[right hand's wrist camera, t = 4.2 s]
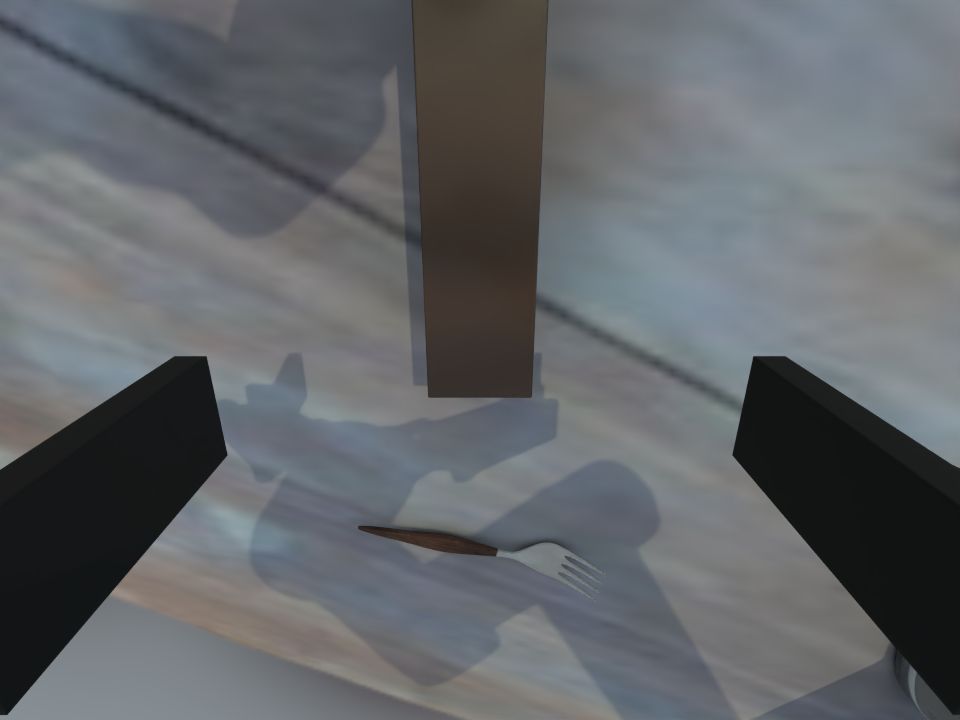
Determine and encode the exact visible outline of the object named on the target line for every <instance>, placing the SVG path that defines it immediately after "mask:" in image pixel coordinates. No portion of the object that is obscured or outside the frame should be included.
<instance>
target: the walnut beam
mask: <svg viewBox="0 0 960 720" xmlns="http://www.w3.org/2000/svg"><path fill="white" fill-rule="evenodd" d="M412 19H413V43H414V68H415V92H416V116H417V140H418V164H419V188H420V212H421V236H422V260H423V284H424V308H425V332H426V356H427V380H428V397H429V398H531V397H532V379H533V355H534V331H535V307H536V283H537V259H538V235H539V211H540V187H541V163H542V139H543V115H544V91H545V67H546V43H547V19H548V0H412Z"/></svg>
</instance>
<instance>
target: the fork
mask: <svg viewBox="0 0 960 720" xmlns="http://www.w3.org/2000/svg"><path fill="white" fill-rule="evenodd" d="M358 529H360V530H362V531H365V532H368V533H372V534H375V535H379V536H383V537H387V538H391V539H395V540H399V541H403V542H406V543H410V544H414V545H418V546H421V547H425V548H429V549H433V550H437V551H442V552H449V553H458V554H470V555H484V556H497V557H506V558H511V559H515V560H517V561H519V562H521V563H523V564H525V565H526V566H528V567H530V568H532V569H534V570H536V571H538V572H540V573H542V574H545V575H547V576H550V577H552V578H555V579H557V580H559V581H561V582H563V583H565V584H567V585H568V586H570V587H572V588H574V589H576V590H577V591H579V592H581V593H582V594H584V595H586V596H587V597H589V598H591V599H592V600H594V601H596V599H595V598H594V597H592V596H591V595H589V594H588V593H586V592H585V591H584V590H582V589H581V588H579V587H578V586H576V585H575V584H573V583H572V582H570V581H568V580H567V579H565V578H564V577H562V576H561V575H560V574H559V572H561V573H564V574H566V575H568V576H570V577H572V578H573V579H575V580H577V581H579V582H581V583H582V584H584V585H586V586H588V587H589V588H591V589H593V590H594V591H596V592H597V593H600V591H598V590H597V589H596V588H594V587H593V586H591V585H590V584H588V583H587V582H585V581H584V580H582V579H581V578H579V577H578V576H576V575H575V574H573V573H572V572H570V571H568V570H567V569H565V568H564V567H563V566H562V564H565V565H567V566H569V567H571V568H573V569H575V570H577V571H579V572H580V573H582V574H584V575H586V576H588V577H589V578H591V579H593V580H595V581H596V582H598V583H600V584H601V585H603V583H602V582H601V581H599V580H598V579H596V578H595V577H593V576H592V575H591V574H589V573H587V572H586V571H584V570H583V569H581V568H580V567H578V566H577V565H575V564H573V563H572V562H570V561H569V560H567V559H566V558H565V556H568V557H571V558H573V559H575V560H577V561H579V562H581V563H582V564H584V565H586V566H588V567H590V568H592V569H593V570H595V571H597V572H599V573H600V574H602V575H604V576H605V577H606V576H607V575H606V574H605V573H603V572H602V571H600V570H599V569H597V568H596V567H594V566H593V565H591V564H590V563H588V562H587V561H585V560H584V559H582V558H580V557H579V556H577V555H575V554H574V553H572V552H570V551H568V550H567V549H565V548H563V547H561V546H559V545H557V544H554V543H548V542H545V543H539V544H535V545H533V546H530V547H528V548H525V549H523V550H520V551H515V552H510V551H504V550H500V549H497V548H494V547H490V546H487V545H484V544H480V543H477V542H474V541H470V540H467V539H463V538H460V537H456V536H452V535H447V534H440V533H430V532H419V531H408V530H399V529H392V528H383V527H374V526H358Z"/></svg>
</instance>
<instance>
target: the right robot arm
mask: <svg viewBox="0 0 960 720" xmlns="http://www.w3.org/2000/svg"><path fill="white" fill-rule="evenodd" d="M226 456H227V450H226V446H225V441H224V436H223V431H222V427H221V422H220V417H219V413H218V408H217V403H216V399H215V394H214V389H213V384H212V380H211V375H210V370H209V366H208V361H207V356H174V357H173V358H171V359H170V360H168V361H167V362H165V363H164V364H162V365H161V366H159V367H157V368H156V369H154V370H153V371H151V372H150V373H148V374H147V375H145V376H144V377H142V378H141V379H139V380H138V381H136V382H134V383H133V384H131V385H130V386H128V387H127V388H125V389H124V390H122V391H121V392H119V393H118V394H116V395H114V396H113V397H111V398H110V399H108V400H107V401H105V402H104V403H102V404H101V405H99V406H98V407H96V408H94V409H93V410H91V411H90V412H88V413H87V414H85V415H84V416H82V417H81V418H79V419H78V420H76V421H74V422H73V423H71V424H70V425H68V426H67V427H65V428H64V429H62V430H61V431H59V432H58V433H56V434H55V435H53V436H51V437H50V438H48V439H47V440H45V441H44V442H42V443H41V444H39V445H38V446H36V447H35V448H33V449H31V450H30V451H28V452H27V453H25V454H24V455H22V456H21V457H19V458H18V459H16V460H15V461H13V462H11V463H10V464H8V465H7V466H5V467H4V468H2V469H1V470H0V715H8V713H9V712H10V711H11V710H12V709H13V708H14V706H15V705H16V704H17V703H18V702H19V700H20V699H21V698H22V697H23V696H24V695H25V693H26V692H27V691H28V690H29V689H30V687H31V686H32V685H33V684H34V683H35V682H36V680H37V679H38V678H39V677H40V676H41V675H42V673H43V672H44V671H45V670H46V669H47V667H48V666H49V665H50V664H51V663H52V662H53V660H54V659H55V658H56V657H57V656H58V654H59V653H60V652H61V651H62V650H63V649H64V647H65V646H66V645H67V644H68V643H69V642H70V640H71V639H72V638H73V637H74V636H75V634H76V633H77V632H78V631H79V630H80V629H81V627H82V626H83V625H84V624H85V623H86V621H87V620H88V619H89V618H90V617H91V616H92V614H93V613H94V612H95V611H96V610H97V608H98V607H99V606H100V605H101V604H102V603H103V601H104V600H105V599H106V598H107V597H108V596H109V594H110V593H111V592H112V591H113V590H114V588H115V587H116V586H117V585H118V584H119V583H120V581H121V580H122V579H123V578H124V577H125V576H126V574H127V573H128V572H129V571H130V570H131V568H132V567H133V566H134V565H135V564H136V563H137V561H138V560H139V559H140V558H141V557H142V555H143V554H144V553H145V552H146V551H147V550H148V548H149V547H150V546H151V545H152V544H153V542H154V541H155V540H156V539H157V538H158V537H159V535H160V534H161V533H162V532H163V531H164V530H165V528H166V527H167V526H168V525H169V524H170V522H171V521H172V520H173V519H174V518H175V517H176V515H177V514H178V513H179V512H180V511H181V509H182V508H183V507H184V506H185V505H186V504H187V502H188V501H189V500H190V499H191V498H192V497H193V495H194V494H195V493H196V492H197V491H198V489H199V488H200V487H201V486H202V485H203V484H204V482H205V481H206V480H207V479H208V478H209V476H210V475H211V474H212V473H213V472H214V471H215V469H216V468H217V467H218V466H219V465H220V464H221V462H222V461H223V460H224V459H225V458H226ZM733 456H734V458H735V459H736V460H737V461H738V462H739V464H740V465H741V466H742V467H743V468H744V469H745V471H746V472H747V473H748V474H749V475H750V476H751V478H752V479H753V480H754V481H755V482H756V484H757V485H758V486H759V487H760V488H761V489H762V491H763V492H764V493H765V494H766V495H767V497H768V498H769V499H770V500H771V501H772V502H773V504H774V505H775V506H776V507H777V508H778V509H779V511H780V512H781V513H782V514H783V515H784V517H785V518H786V519H787V520H788V521H789V522H790V524H791V525H792V526H793V527H794V528H795V530H796V531H797V532H798V533H799V534H800V535H801V537H802V538H803V539H804V540H805V541H806V543H807V544H808V545H809V546H810V547H811V548H812V550H813V551H814V552H815V553H816V554H817V555H818V557H819V558H820V559H821V560H822V561H823V563H824V564H825V565H826V566H827V567H828V568H829V570H830V571H831V572H832V573H833V574H834V576H835V577H836V578H837V579H838V580H839V581H840V583H841V584H842V585H843V586H844V587H845V588H846V590H847V591H848V592H849V593H850V594H851V596H852V597H853V598H854V599H855V600H856V601H857V603H858V604H859V605H860V606H861V607H862V609H863V610H864V611H865V612H866V613H867V614H868V616H869V617H870V618H871V619H872V620H873V621H874V623H875V624H876V625H877V626H878V627H879V629H880V630H881V631H882V632H883V633H884V634H885V636H886V637H887V638H888V639H889V640H890V642H891V643H892V644H893V645H894V646H895V647H896V649H897V654H896V659H895V671H896V676H897V679H898V682H899V684H900V686H901V687H902V689H903V690H904V691H905V693H906V694H907V695H908V697H909V698H910V699H911V700H912V702H913V703H914V704H915V705H916V707H917V708H918V709H919V710H920V712H921V713H922V714H923V715H924V716H925V717H926V718H927V719H928V720H960V468H958V467H956V466H954V465H952V464H950V463H949V462H947V461H945V460H944V459H942V458H941V457H939V456H938V455H936V454H935V453H933V452H932V451H930V450H929V449H927V448H925V447H924V446H922V445H921V444H919V443H918V442H916V441H915V440H913V439H912V438H910V437H909V436H907V435H905V434H904V433H902V432H901V431H899V430H898V429H896V428H895V427H893V426H892V425H890V424H889V423H887V422H885V421H884V420H882V419H881V418H879V417H878V416H876V415H875V414H873V413H872V412H870V411H869V410H867V409H866V408H864V407H862V406H861V405H859V404H858V403H856V402H855V401H853V400H852V399H850V398H849V397H847V396H846V395H844V394H842V393H841V392H839V391H838V390H836V389H835V388H833V387H832V386H830V385H829V384H827V383H826V382H824V381H822V380H821V379H819V378H818V377H816V376H815V375H813V374H812V373H810V372H809V371H807V370H806V369H804V368H803V367H801V366H799V365H798V364H796V363H795V362H793V361H792V360H790V359H789V358H787V357H786V356H753V361H752V366H751V370H750V375H749V380H748V384H747V389H746V394H745V399H744V403H743V408H742V413H741V417H740V422H739V427H738V431H737V436H736V441H735V446H734V450H733Z"/></svg>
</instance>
